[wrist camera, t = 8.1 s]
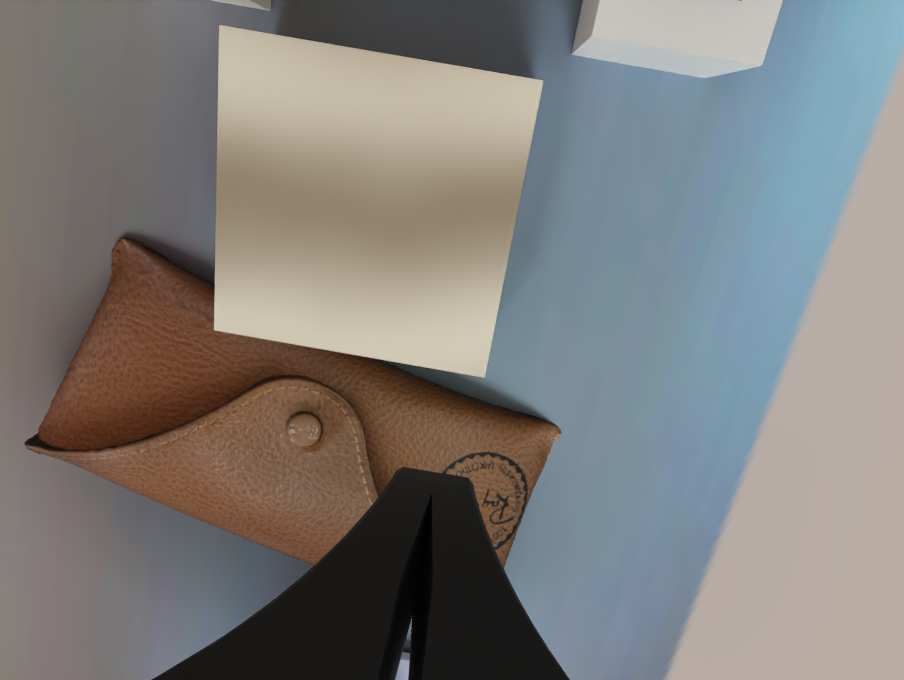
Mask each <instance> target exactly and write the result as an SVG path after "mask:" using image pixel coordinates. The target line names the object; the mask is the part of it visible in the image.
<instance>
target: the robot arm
mask: <svg viewBox="0 0 904 680" xmlns="http://www.w3.org/2000/svg"><path fill="white" fill-rule="evenodd" d="M412 614H413V615H412ZM411 618H412V630H411V644H410V653H406V652H403V648H404V644H405V641H406V637H407V633H408V629H409V626H410V622H411ZM152 680H570V679H569V678H568V677H567V675H566V674H565V672H564V671H563V669H562V668H561V666H560V665H559V663H558V662H557V661H556V659H555V658H554V656H553V655H552V653H551V652H550V650H549V649H548V647H547V646H546V644H545V643H544V641H543V639H542V638H541V636H540V635H539V633H538V631H537V630H536V628H535V627H534V625H533V623H532V622H531V620H530V618H529V616H528V615H527V613H526V611H525V609H524V608H523V606H522V604H521V602H520V600H519V599H518V597H517V595H516V593H515V591H514V589H513V587H512V585H511V583H510V581H509V579H508V577H507V575H506V573H505V571H504V569H503V567H502V565H501V562H500V560H499V558H498V555H497V553H496V551H495V548H494V546H493V544H492V541H491V539H490V537H489V534H488V532H487V529H486V526H485V524H484V521H483V518H482V515H481V512H480V509H479V506H478V502H477V499H476V495H475V491H474V485H473V483H472V482H471V480H470V479H469V478H468V477H462V476H456V475H450V474H444V473H438V472H432V471H425V470H419V469H413V468H407V467H402V468H400V469H398V470H397V471H396V472H395V473H394V475H393V477H392V479H391V480H390V482H389V483H388V485H387V486H386V487H385V489H384V490H383V492H382V493H381V494H380V496H379V497H378V498H377V499H376V501H375V502H374V503H373V504H372V506H371V507H370V508H369V509H368V510H367V511H366V513H365V514H364V515H363V516H362V517H361V518H360V519H359V521H358V522H357V523H356V524H355V525H354V526H353V527H352V529H351V530H350V531H349V532H348V533H347V534H346V535H345V536H344V537H343V538H342V539H341V540H340V541H339V542H338V543H337V544H336V545H335V546H334V547H333V548H332V549H331V550H330V551H329V552H328V553H327V554H326V555H325V556H324V557H323V558H322V559H321V560H320V561H319V562H318V563H317V564H316V565H314V566H313V567H312V568H311V569H310V570H309V571H308V572H307V573H306V574H304V575H303V576H302V577H301V578H300V579H299V580H297V581H296V582H295V583H294V584H293V585H291V586H290V587H289V588H288V589H287V590H285V591H284V592H283V593H282V594H280V595H279V596H278V597H277V598H275V599H274V600H273V601H272V602H270V603H269V604H268V605H266V606H265V607H263V608H262V609H261V610H259V611H258V612H257V613H255V614H254V615H253V616H251V617H250V618H248V619H247V620H246V621H244V622H243V623H242V624H240V625H239V626H237V627H236V628H234V629H233V630H232V631H230V632H229V633H227V634H226V635H224V636H223V637H221V638H220V639H218V640H217V641H215V642H213V643H212V644H210V645H209V646H207V647H205V648H204V649H202V650H200V651H199V652H197V653H195V654H194V655H192V656H190V657H189V658H187V659H185V660H184V661H182V662H180V663H179V664H177V665H176V666H174V667H172V668H171V669H169V670H167V671H166V672H164V673H162V674H161V675H159V676H157V677H155V678H154V679H152Z"/></svg>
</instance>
